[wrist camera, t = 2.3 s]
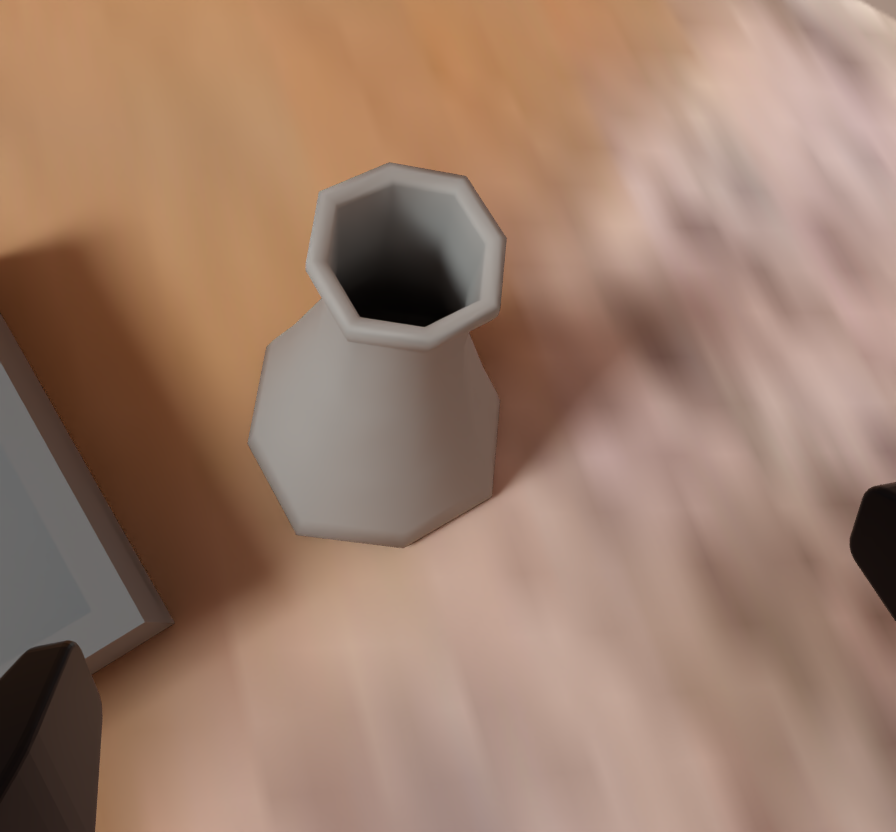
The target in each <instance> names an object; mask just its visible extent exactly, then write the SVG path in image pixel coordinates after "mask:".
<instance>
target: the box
mask: <svg viewBox="0 0 896 832" xmlns="http://www.w3.org/2000/svg"><path fill="white" fill-rule="evenodd" d="M174 623H175V622H174V621H173V619H172V617H171V615H170V614H169V612H168V610H167V608H166V606H165V605H164V603H163V601H162V599H161V598H160V596H159V594H158V592H157V590H156V589H155V587H154V585H153V583H152V582H151V580H150V578H149V576H148V574H147V573H146V571H145V569H144V567H143V566H142V564H141V562H140V560H139V558H138V557H137V555H136V553H135V551H134V550H133V548H132V546H131V544H130V542H129V541H128V539H127V537H126V535H125V534H124V532H123V530H122V528H121V526H120V525H119V523H118V521H117V519H116V518H115V516H114V514H113V512H112V510H111V509H110V507H109V505H108V503H107V502H106V500H105V498H104V496H103V494H102V493H101V491H100V489H99V487H98V486H97V484H96V482H95V480H94V478H93V477H92V475H91V473H90V471H89V470H88V468H87V466H86V464H85V462H84V461H83V459H82V457H81V455H80V454H79V452H78V450H77V448H76V446H75V445H74V443H73V441H72V439H71V438H70V436H69V434H68V432H67V430H66V429H65V427H64V425H63V423H62V422H61V420H60V418H59V416H58V414H57V413H56V411H55V409H54V407H53V406H52V404H51V402H50V400H49V398H48V397H47V395H46V393H45V391H44V390H43V388H42V386H41V384H40V382H39V381H38V379H37V377H36V375H35V374H34V372H33V370H32V368H31V366H30V365H29V363H28V361H27V359H26V358H25V356H24V354H23V352H22V350H21V349H20V347H19V345H18V343H17V342H16V340H15V338H14V336H13V334H12V333H11V331H10V329H9V327H8V326H7V324H6V322H5V320H4V318H3V317H2V315H1V313H0V678H1V677H2V676H3V675H4V673H5V672H6V671H7V670H8V669H9V668H10V667H11V666H12V665H13V664H14V663H15V662H16V661H17V659H18V658H19V657H20V656H21V655H22V654H23V653H24V652H26V651H27V650H28V649H30V648H33V647H35V646H40V645H45V644H50V643H56V642H61V641H66V640H70V641H74V642H76V643H77V644H78V645H79V647H80V648H81V650H82V652H83V655H84V657H85V660H86V662H87V665H88V667H89V670H90V672H91V675H92V674H93V673H95V672H97V671H98V670H100V669H101V668H103V667H105V666H106V665H108V664H110V663H111V662H113V661H114V660H116V659H118V658H119V657H121V656H122V655H124V654H126V653H127V652H129V651H130V650H132V649H134V648H135V647H137V646H139V645H140V644H142V643H143V642H145V641H147V640H148V639H150V638H151V637H153V636H155V635H156V634H158V633H160V632H161V631H163V630H164V629H166V628H168V627H169V626H171V625H172V624H174Z"/></svg>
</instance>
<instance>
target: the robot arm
mask: <svg viewBox="0 0 896 832" xmlns="http://www.w3.org/2000/svg"><path fill="white" fill-rule="evenodd" d="M850 550H851V553H852V556H853V558H854V560H855V562H856V563H857V565H858V566H859V568H860V569H861V571H862V572H863V574H864V575H865V577H866V578H867V580H868V581H869V582H870V584H871V585H872V587H873V588H874V590H875V591H876V593H877V594H878V596H879V597H880V599H881V600H882V602H883V603H884V605H885V606H886V608H887V609H888V611H889V612H890V614H891V615H892V617H893V618H894V620H895V621H896V482H894V483H888V484H883V485H878V486H874V487H871V488H869V489H868V490H867V491H866V492H865V494H864V496H863V498H862V501H861V504H860V507H859V511H858V514H857V517H856V520H855V523H854V526H853V530H852V533H851V536H850ZM101 733H102V704H101V699H100V695H99V692H98V689H97V687H96V684H95V682H94V680H93V677H92V675H91V672H90V670H89V667H88V665H87V662H86V660H85V657H84V655H83V652H82V650H81V648H80V647H79V645H78V644H77V643H76V642H74V641H70V640H66V641H61V642H56V643H50V644H45V645H40V646H35V647H33V648H30V649H28V650H27V651H26V652H24V653H23V654H22V655H21V656H20V657H19V658H18V659H17V661H16V662H15V663H14V664H13V665H12V666H11V667H10V668H9V669H8V670H7V671H6V672H5V673H4V675H3V676H2V677H1V678H0V832H95V824H96V809H97V794H98V778H99V763H100V748H101Z"/></svg>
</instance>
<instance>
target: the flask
mask: <svg viewBox="0 0 896 832" xmlns="http://www.w3.org/2000/svg"><path fill="white" fill-rule="evenodd" d="M506 239H507V238H506V236H505V235H504V233H503V232H502V230H501V229H500V227H499V226H498V224H497V223H496V221H495V220H494V218H493V216H492V215H491V213H490V212H489V210H488V209H487V207H486V206H485V204H484V203H483V201H482V200H481V198H480V196H479V195H478V193H477V192H476V190H475V189H474V187H473V186H472V184H471V183H470V181H469V180H468V178H467V177H466V176H463V175H457V174H452V173H446V172H440V171H435V170H429V169H424V168H418V167H413V166H407V165H401V164H396V163H390V162H389V163H387V164H384V165H382V166H379V167H377V168H375V169H372V170H370V171H367V172H365V173H363V174H360V175H358V176H355V177H353V178H351V179H348V180H346V181H344V182H341V183H339V184H336V185H334V186H332V187H329V188H327V189H324V190H322V191H320V192H319V195H318V200H317V206H316V211H315V216H314V222H313V227H312V233H311V238H310V244H309V249H308V255H307V260H306V272H307V273H308V275H309V277H310V278H311V280H312V282H313V284H314V285H315V287H316V289H317V290H318V292H319V294H320V296H321V297H322V298H321V299H320V300H319V301H318V302H317V303H316V304H315V305H314V306H313V307H312V308H311V309H310V310H309V311H308V312H307V313H306V314H305V315H304V316H303V317H302V318H301V319H300V320H299V321H298V322H297V323H296V324H294V325H293V326H292V327H290V328H289V329H288V330H286V331H285V332H284V333H282V334H281V335H280V336H278V337H277V338H276V339H274V340H273V341H272V342H271V343H270V344H269V345H268V346H267V347H266V351H265V356H264V361H263V366H262V371H261V377H260V382H259V387H258V392H257V397H256V402H255V407H254V412H253V418H252V423H251V428H250V433H249V438H248V443H247V444H248V445H249V447H250V449H251V451H252V453H253V455H254V457H255V458H256V460H257V462H258V464H259V466H260V468H261V470H262V471H263V473H264V475H265V477H266V479H267V481H268V483H269V484H270V486H271V488H272V490H273V492H274V494H275V496H276V497H277V499H278V501H279V503H280V505H281V507H282V509H283V510H284V512H285V514H286V516H287V518H288V520H289V522H290V523H291V525H292V527H293V529H294V531H295V533H296V534H297V535H301V536H309V537H317V538H325V539H333V540H341V541H349V542H357V543H366V544H374V545H382V546H390V547H398V548H405V547H406V546H408V545H410V544H411V543H413V542H415V541H417V540H418V539H420V538H422V537H423V536H425V535H427V534H429V533H430V532H432V531H434V530H435V529H437V528H439V527H441V526H442V525H444V524H446V523H447V522H449V521H451V520H453V519H454V518H456V517H458V516H460V515H461V514H463V513H465V512H466V511H468V510H470V509H472V508H473V507H475V506H477V505H478V504H480V503H482V502H484V501H485V500H487V499H489V498H490V497H492V489H493V477H494V466H495V455H496V443H497V432H498V421H499V409H500V399H499V396H498V394H497V392H496V390H495V388H494V386H493V384H492V383H491V381H490V379H489V377H488V375H487V373H486V372H485V370H484V368H483V366H482V363H481V361H480V358H479V356H478V353H477V351H476V349H475V346H474V344H473V341H472V339H471V336H470V334H469V332H470V331H472V330H474V329H476V328H477V327H479V326H481V325H483V324H485V323H487V322H489V321H491V320H493V319H494V318H496V317H497V316H498V314H499V311H500V305H501V294H502V283H503V272H504V261H505V250H506Z"/></svg>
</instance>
